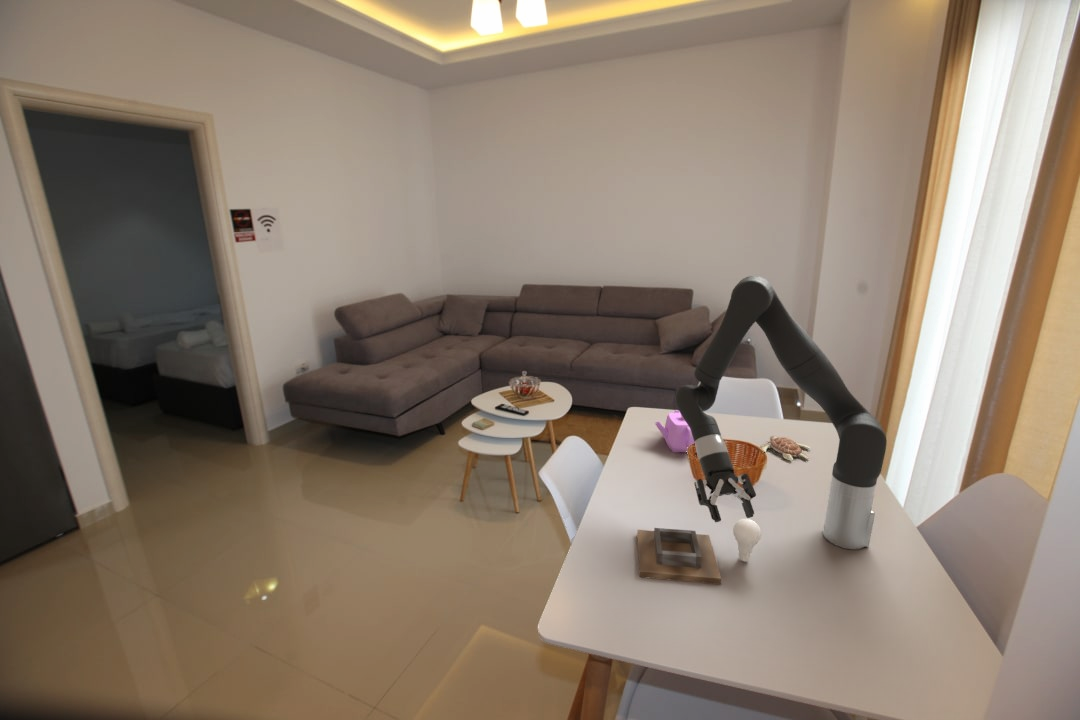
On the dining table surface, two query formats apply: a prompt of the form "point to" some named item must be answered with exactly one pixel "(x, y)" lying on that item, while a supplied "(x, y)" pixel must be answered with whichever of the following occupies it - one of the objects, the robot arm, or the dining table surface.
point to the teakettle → (676, 432)
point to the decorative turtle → (786, 447)
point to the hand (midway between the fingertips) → (734, 519)
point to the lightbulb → (746, 537)
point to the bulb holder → (677, 556)
